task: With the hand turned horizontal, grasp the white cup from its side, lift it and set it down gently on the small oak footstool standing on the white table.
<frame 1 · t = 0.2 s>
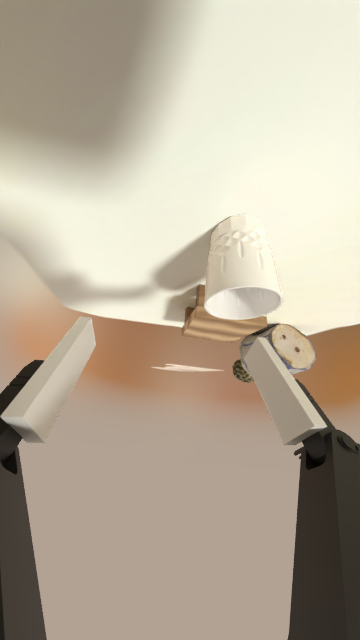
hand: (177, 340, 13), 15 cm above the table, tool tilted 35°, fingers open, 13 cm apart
white cup: (236, 237, 21), on the table
potted plant: (257, 334, 58), on the table
stool: (217, 303, 38), on the table
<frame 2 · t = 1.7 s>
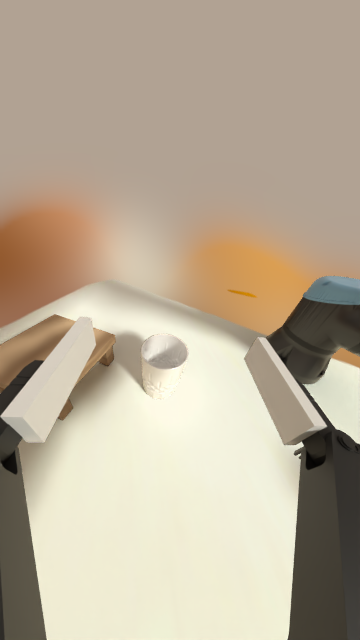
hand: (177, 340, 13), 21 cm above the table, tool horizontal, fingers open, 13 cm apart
white cup: (159, 383, 33), on the table
stool: (63, 372, 31), on the table
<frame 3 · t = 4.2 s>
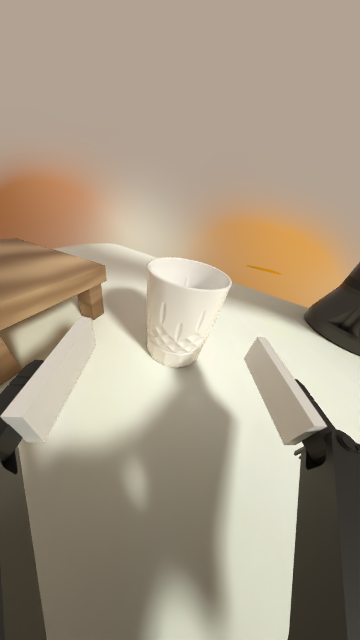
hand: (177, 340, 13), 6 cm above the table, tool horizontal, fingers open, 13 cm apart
white cup: (173, 347, 21), on the table
stool: (20, 321, 19), on the table
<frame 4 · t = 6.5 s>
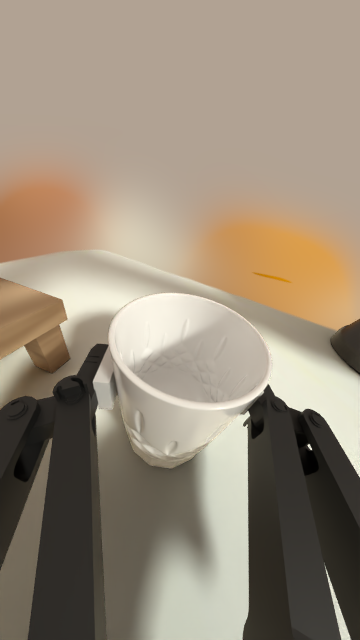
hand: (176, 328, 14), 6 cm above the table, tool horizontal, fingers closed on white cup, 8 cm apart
white cup: (166, 418, 14), on the table, touching gripper
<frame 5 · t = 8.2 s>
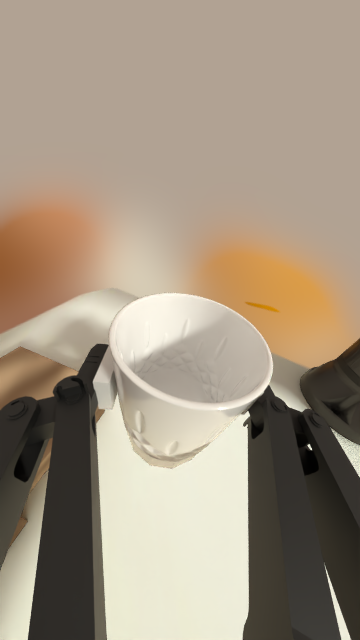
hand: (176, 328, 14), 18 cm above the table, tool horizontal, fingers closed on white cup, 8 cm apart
white cup: (167, 418, 14), point 12 cm above the table, touching gripper
stool: (24, 440, 20), on the table
when the fingers open (14 cm above the table, at t = 10.3 s): white cup drops 1 cm, resting on stool.
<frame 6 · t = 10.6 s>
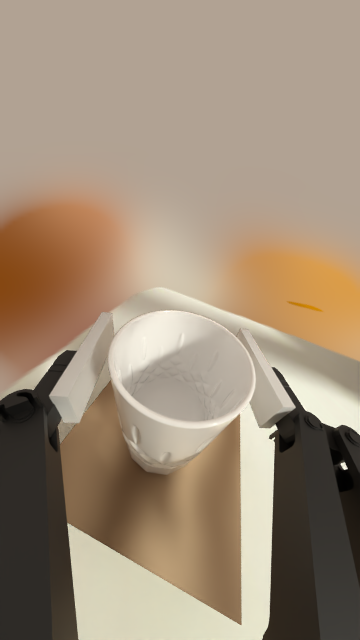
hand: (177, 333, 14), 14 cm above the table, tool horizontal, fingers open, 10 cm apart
white cup: (163, 426, 15), point 7 cm above the table, touching stool
stool: (157, 449, 19), on the table
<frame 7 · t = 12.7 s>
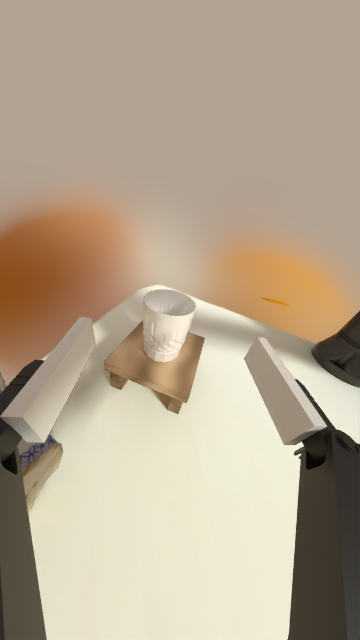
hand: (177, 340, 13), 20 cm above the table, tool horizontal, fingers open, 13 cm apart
white cup: (161, 348, 30), point 7 cm above the table, touching stool
stool: (158, 371, 34), on the table
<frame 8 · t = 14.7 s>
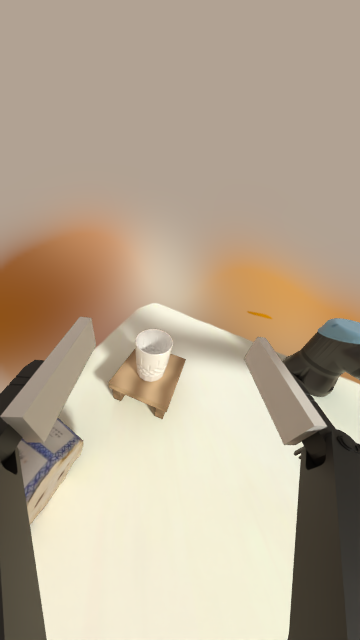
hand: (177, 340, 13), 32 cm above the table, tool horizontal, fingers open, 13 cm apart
white cup: (151, 370, 40), point 7 cm above the table, touching stool
stool: (149, 385, 44), on the table
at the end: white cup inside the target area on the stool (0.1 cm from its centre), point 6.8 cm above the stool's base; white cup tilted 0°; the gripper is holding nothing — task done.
